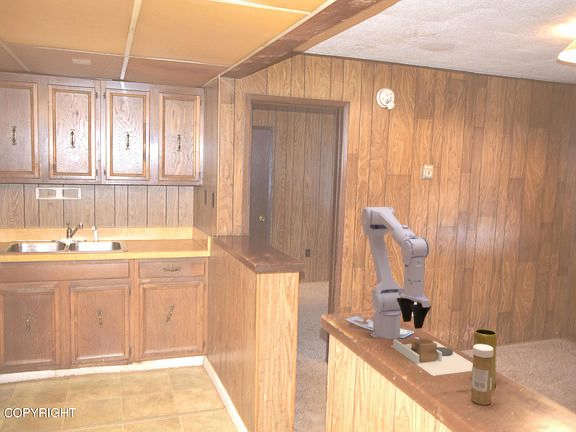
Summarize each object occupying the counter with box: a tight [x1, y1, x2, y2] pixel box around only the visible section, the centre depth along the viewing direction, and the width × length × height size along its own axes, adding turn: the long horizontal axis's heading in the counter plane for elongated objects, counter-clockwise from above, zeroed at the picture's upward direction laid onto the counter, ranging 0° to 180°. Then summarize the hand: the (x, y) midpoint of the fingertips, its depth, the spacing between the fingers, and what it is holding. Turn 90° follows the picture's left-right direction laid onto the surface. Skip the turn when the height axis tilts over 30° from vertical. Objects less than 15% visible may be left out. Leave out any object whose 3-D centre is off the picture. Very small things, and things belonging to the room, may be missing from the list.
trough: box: [392, 336, 442, 365], centre depth 148 cm, size 14×8×2 cm, turn 16°
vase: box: [471, 328, 498, 391], centre depth 129 cm, size 6×6×14 cm
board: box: [391, 340, 473, 377], centre depth 146 cm, size 23×16×2 cm
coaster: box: [437, 346, 454, 356], centre depth 149 cm, size 6×6×1 cm
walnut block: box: [410, 337, 437, 363], centre depth 144 cm, size 5×5×5 cm
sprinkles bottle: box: [471, 344, 494, 406], centre depth 121 cm, size 5×5×14 cm
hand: (412, 324), depth 150 cm, fingers open, 6 cm apart
